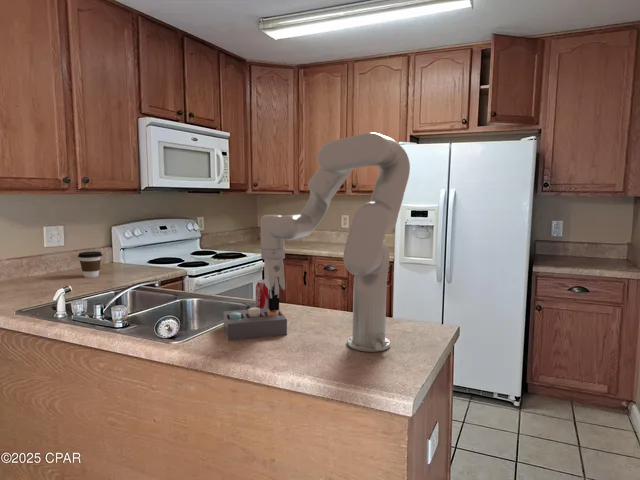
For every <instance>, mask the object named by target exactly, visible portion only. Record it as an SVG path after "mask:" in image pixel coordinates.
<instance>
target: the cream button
mask: <svg viewBox="0 0 640 480" xmlns="http://www.w3.org/2000/svg"><path fill="white" fill-rule="evenodd" d="M248 310H249V318H255V317H260V308H256V307H250V308H249V307H248Z"/></svg>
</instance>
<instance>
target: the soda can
mask: <svg viewBox="0 0 640 480" xmlns="http://www.w3.org/2000/svg"><path fill="white" fill-rule="evenodd" d="M256 283H257V284H256V285H255V308H260V309H263V308H268V298H270V297H269V296H268V288H267V287H266V285H265V279H258V280H257V282H256Z"/></svg>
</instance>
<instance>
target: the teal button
mask: <svg viewBox="0 0 640 480" xmlns="http://www.w3.org/2000/svg"><path fill="white" fill-rule="evenodd" d="M229 319H241V313H240V312H232V313H230V314H229Z"/></svg>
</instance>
